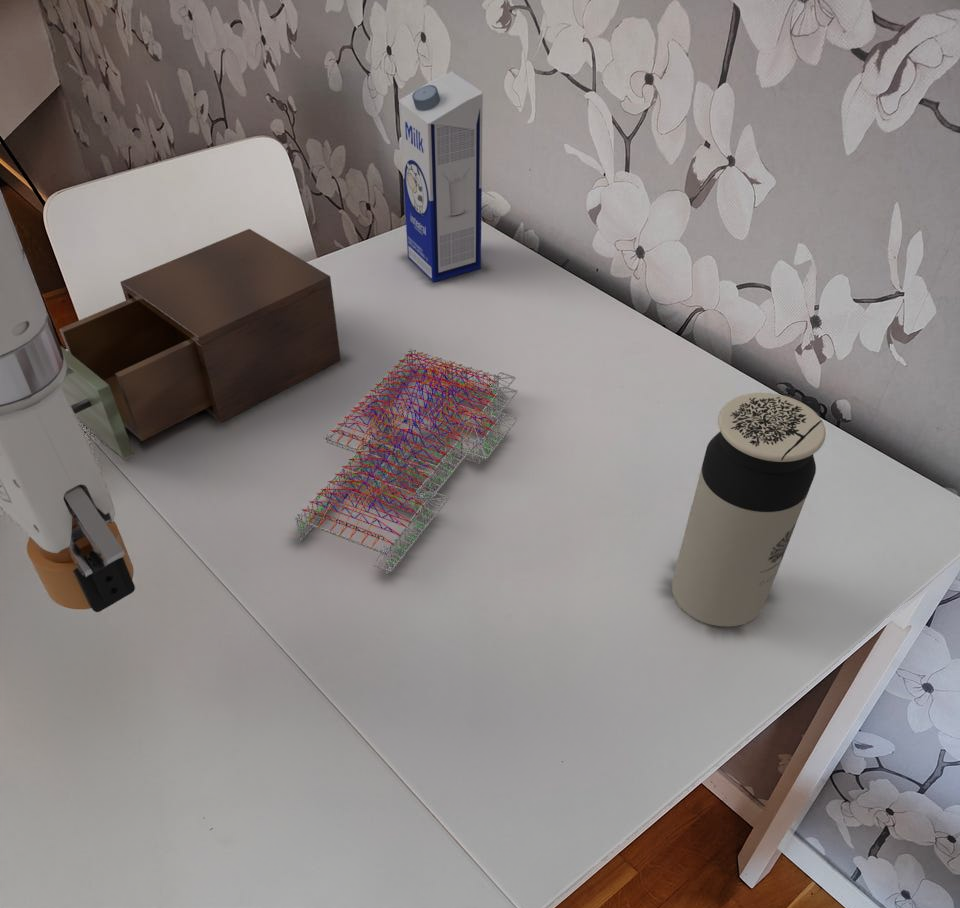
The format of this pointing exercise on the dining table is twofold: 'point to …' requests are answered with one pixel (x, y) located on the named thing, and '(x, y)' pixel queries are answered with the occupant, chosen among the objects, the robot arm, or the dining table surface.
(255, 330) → the cabinet
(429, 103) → the milk carton
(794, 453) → the travel mug
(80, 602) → the small lidded canister
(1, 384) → the robot arm
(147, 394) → the drawer
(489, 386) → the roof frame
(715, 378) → the dining table surface
